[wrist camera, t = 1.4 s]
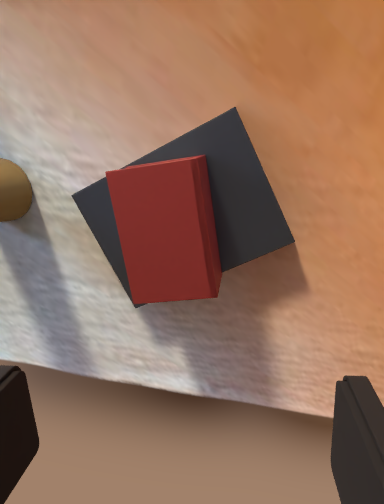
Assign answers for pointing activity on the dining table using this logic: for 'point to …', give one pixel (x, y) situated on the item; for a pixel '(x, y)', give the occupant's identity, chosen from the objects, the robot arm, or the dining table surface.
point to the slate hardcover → (222, 193)
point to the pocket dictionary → (167, 229)
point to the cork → (13, 191)
